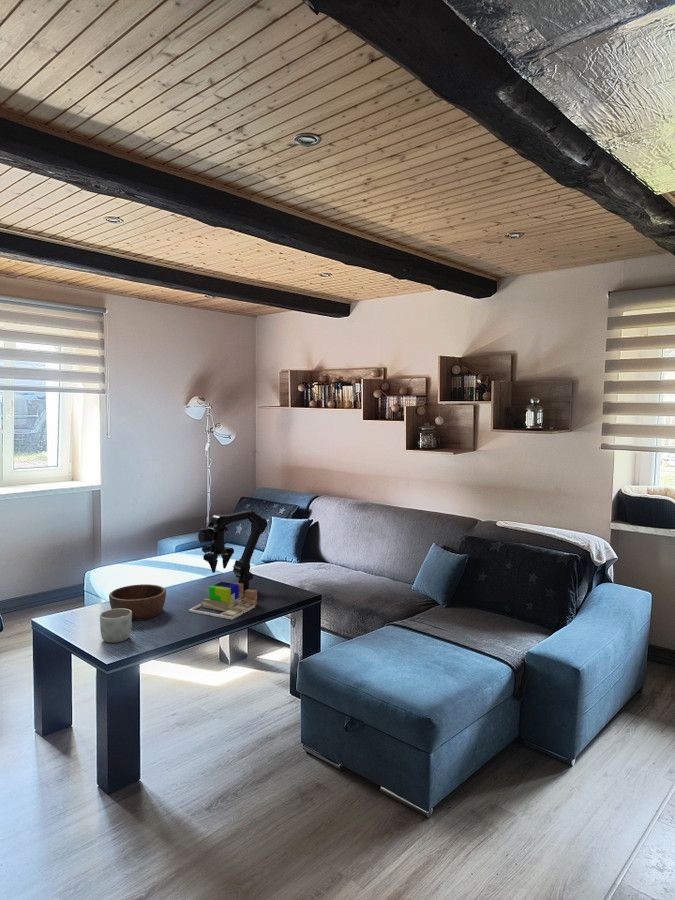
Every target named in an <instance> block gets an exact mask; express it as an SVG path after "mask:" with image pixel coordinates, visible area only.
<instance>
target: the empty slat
mask: <svg viewBox="0 0 675 900" xmlns="http://www.w3.org/2000/svg"><path fill="white" fill-rule="evenodd" d="M244 598H245V603H243V604H240V605H238V606H236V607H234V608H232V609H230V610H229V611H227V612H225V611H224V612H225V613H223V612H222V613H223V615H225V616H231V617H233V616H235V615H236V614H238V613H240V612H242V611H244V610H246V609H247V608H249V607H251V606H253V605H255V606H257V605H258V590H256V589H252V590H250V589H247V590H245V592H244Z"/></svg>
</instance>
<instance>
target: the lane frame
mask: <svg viewBox="0 0 675 900" xmlns="http://www.w3.org/2000/svg"><path fill="white" fill-rule="evenodd" d="M240 604H244V603H240ZM240 604H238V605H240ZM238 605H237V606H238ZM235 607H236V606H235ZM199 608H202V607H201V603H200V604H197V605H195V606H193V607H191V608H190V609H188V613H193V614H200V615H205V616H209V615H210V616H209V617H215V618H222V619H227V620H234V619H237V618H238V617H240V616H242V615H244V614H245V613H247V612H249V611H251V610H252V609H255V608H256V605H253V606H250V607H249V608H247V609H246V610H244V611H242V612H240V613H238V614H236V615H235V616H233V617H231V616H225V615H223V613H225V612H227V611H229V610H230V609H229V610H227V611H223V612H221V613H220V614H218V613H214V612H208V611H201V610H197V609H199ZM233 608H234V607H233ZM231 609H232V608H231ZM243 613H244V614H243Z"/></svg>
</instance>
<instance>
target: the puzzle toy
mask: <svg viewBox="0 0 675 900" xmlns="http://www.w3.org/2000/svg"><path fill="white" fill-rule="evenodd" d="M233 583H234V582H233ZM233 583H231V582H225V581H220V582H218V583H215V584H213V585H211V586H209V587H208V599H210V600H216V601H222V602H227V606H229V605H231V604H233V603H235V602H237V601H239V584H233Z"/></svg>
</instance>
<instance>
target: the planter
mask: <svg viewBox="0 0 675 900" xmlns="http://www.w3.org/2000/svg"><path fill="white" fill-rule="evenodd" d="M132 625H133V620H132V611H131V610H129V609H123V608H119V609H111V608H110V609H108V610H104V611H102V612H101V613H100V614H99V627H100V634H101V635H100V637H101V639H102V640H103V641H104V642H106V643H109V644H110V643H111V644H115V643H122V642H125V641H127V640H128V639H129V638H130V637H131V634H132V627H133V626H132Z"/></svg>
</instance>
